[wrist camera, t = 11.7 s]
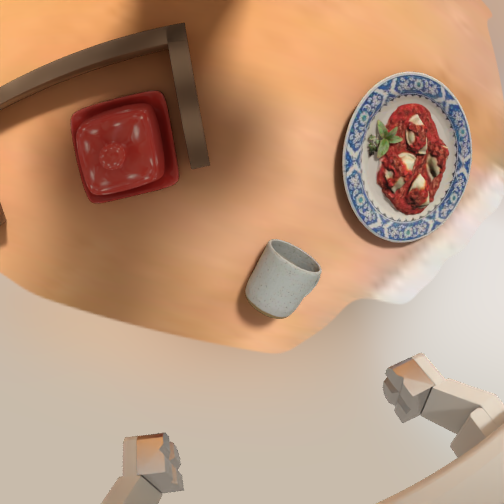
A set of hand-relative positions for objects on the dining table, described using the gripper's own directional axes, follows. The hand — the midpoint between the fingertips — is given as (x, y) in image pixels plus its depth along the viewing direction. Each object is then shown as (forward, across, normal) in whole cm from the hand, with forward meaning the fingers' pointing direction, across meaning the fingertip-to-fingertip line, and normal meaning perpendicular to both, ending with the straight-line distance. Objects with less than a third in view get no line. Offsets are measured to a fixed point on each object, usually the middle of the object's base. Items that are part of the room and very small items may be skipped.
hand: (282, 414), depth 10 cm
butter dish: (+32, +8, -7) cm, 33 cm away
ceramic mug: (+31, -8, +14) cm, 35 cm away
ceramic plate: (+32, -30, +1) cm, 44 cm away
